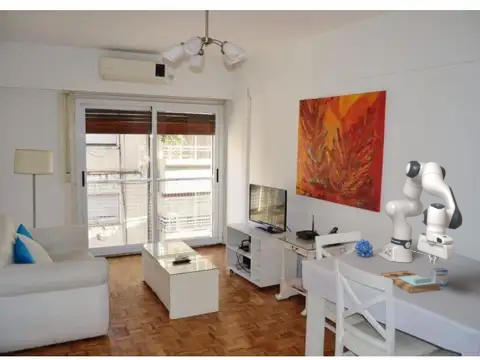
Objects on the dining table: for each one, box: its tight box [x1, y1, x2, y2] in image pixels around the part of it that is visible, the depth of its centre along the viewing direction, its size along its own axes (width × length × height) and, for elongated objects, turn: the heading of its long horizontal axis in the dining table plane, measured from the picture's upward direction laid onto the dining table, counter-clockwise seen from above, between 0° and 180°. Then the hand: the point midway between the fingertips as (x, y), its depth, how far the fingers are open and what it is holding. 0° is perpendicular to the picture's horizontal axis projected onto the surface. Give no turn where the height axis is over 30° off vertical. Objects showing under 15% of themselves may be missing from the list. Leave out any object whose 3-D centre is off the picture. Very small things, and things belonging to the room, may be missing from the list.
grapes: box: [354, 238, 374, 258], centre depth 286 cm, size 12×7×12 cm, turn 86°
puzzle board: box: [380, 270, 441, 294], centre depth 237 cm, size 24×18×3 cm
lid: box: [398, 274, 434, 286], centre depth 232 cm, size 12×12×3 cm
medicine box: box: [429, 267, 449, 287], centre depth 237 cm, size 8×4×9 cm, turn 105°
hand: (433, 263), depth 221 cm, fingers closed
